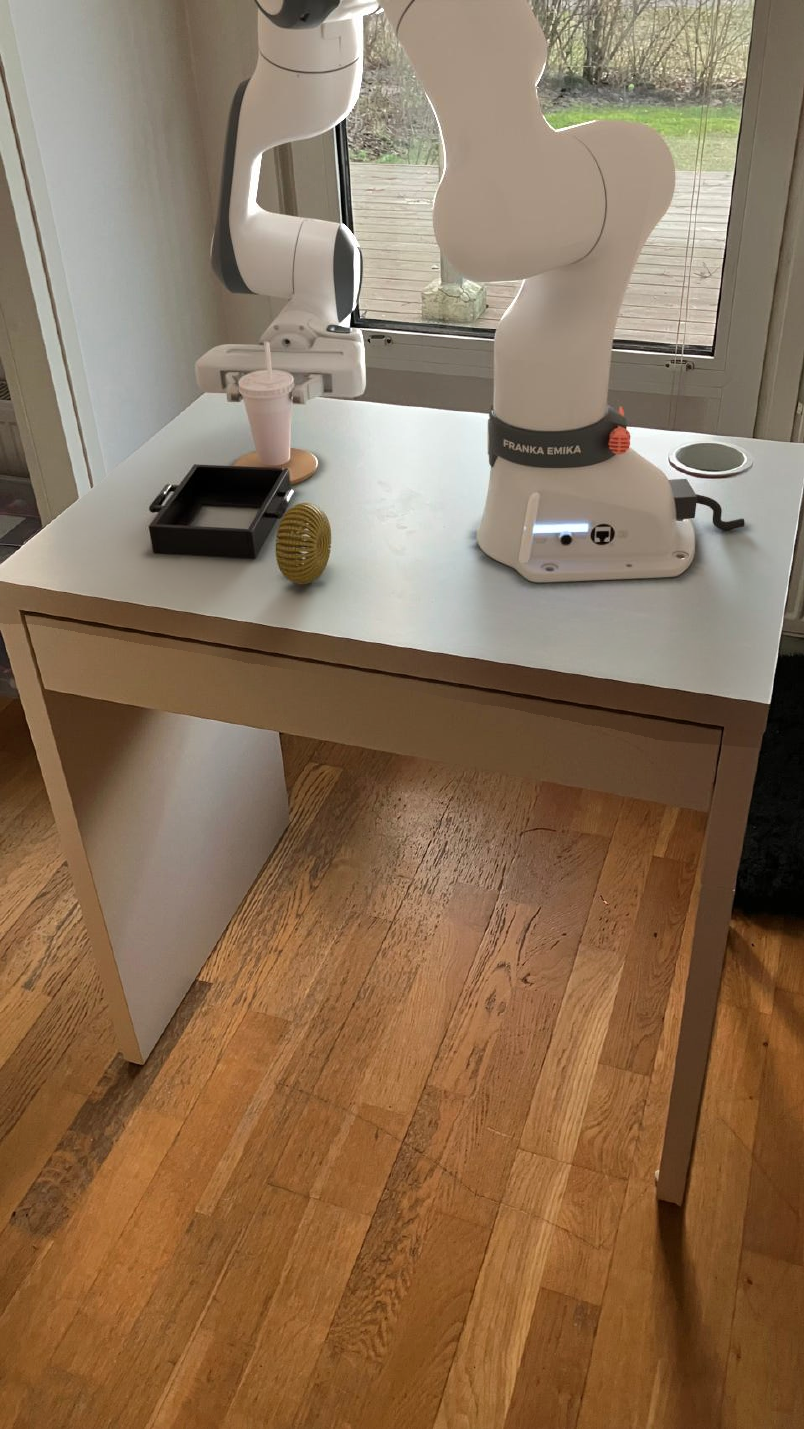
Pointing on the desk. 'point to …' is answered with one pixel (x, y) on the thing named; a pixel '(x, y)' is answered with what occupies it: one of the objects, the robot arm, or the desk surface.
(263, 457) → the smoothie
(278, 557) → the sculpture
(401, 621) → the desk surface
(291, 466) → the cork pad
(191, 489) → the pan
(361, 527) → the desk surface
